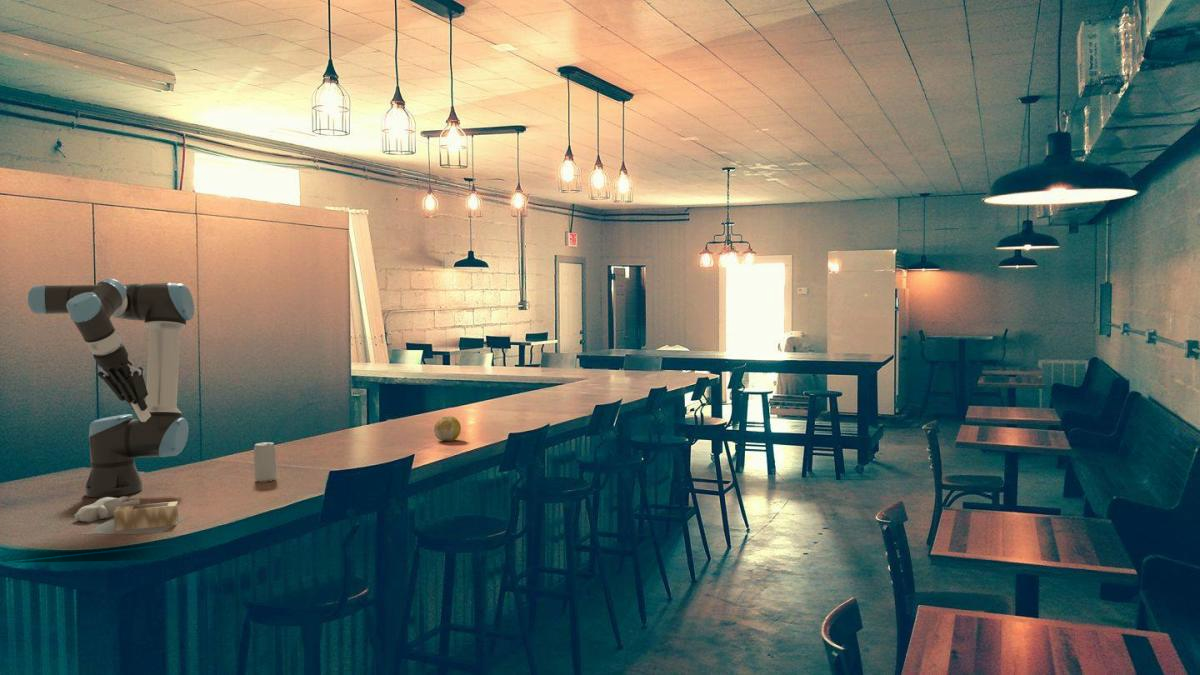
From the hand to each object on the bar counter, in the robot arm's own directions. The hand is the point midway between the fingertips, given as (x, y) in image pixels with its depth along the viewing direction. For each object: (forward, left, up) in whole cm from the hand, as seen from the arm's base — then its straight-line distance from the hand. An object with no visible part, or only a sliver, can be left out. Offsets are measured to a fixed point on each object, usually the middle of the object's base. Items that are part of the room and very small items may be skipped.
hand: (146, 418), depth 235 cm
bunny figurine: (-8, -7, -26) cm, 28 cm away
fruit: (+68, +101, -26) cm, 125 cm away
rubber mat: (+6, -18, -26) cm, 32 cm away
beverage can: (+20, +34, -26) cm, 47 cm away
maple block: (+2, -21, -23) cm, 31 cm away
